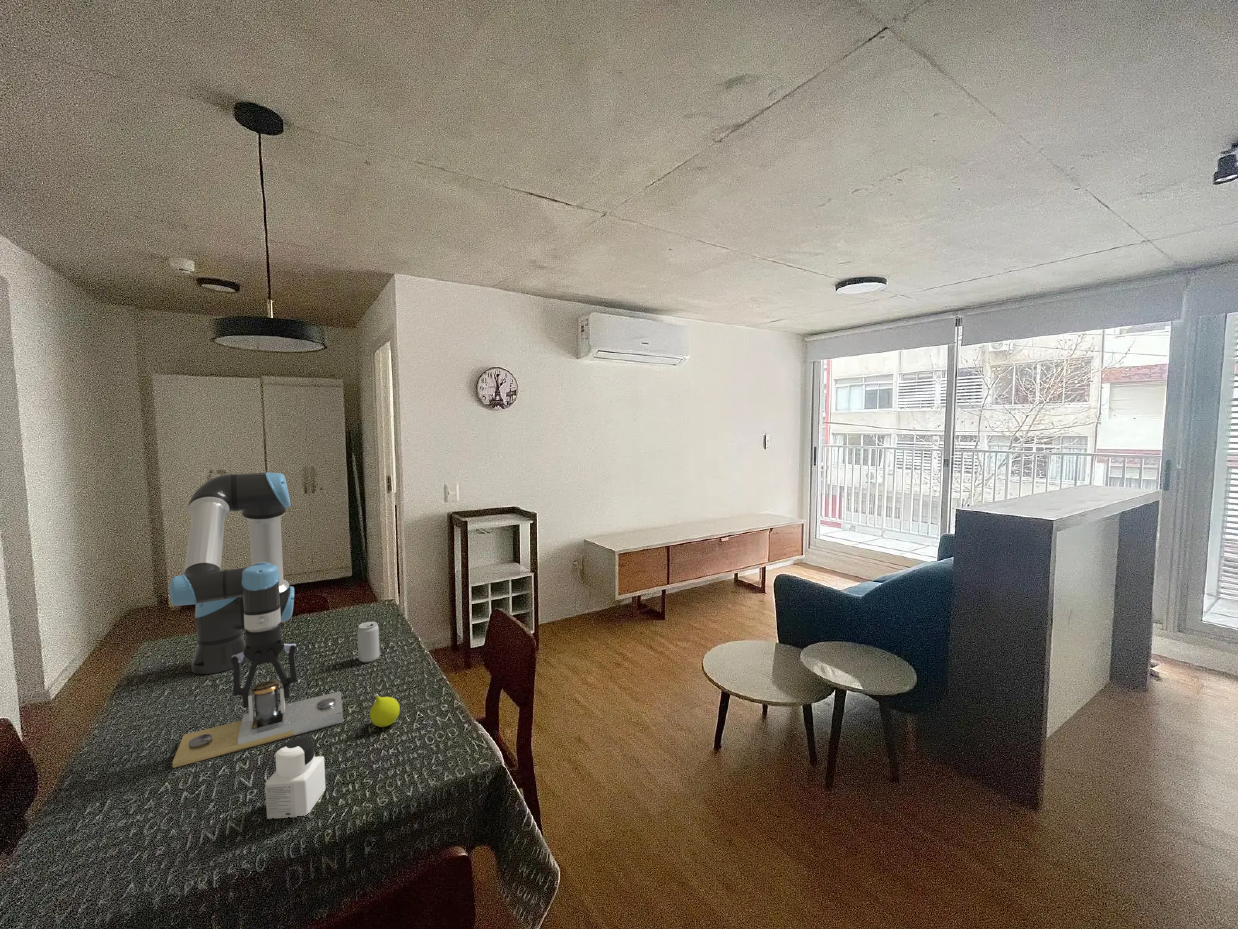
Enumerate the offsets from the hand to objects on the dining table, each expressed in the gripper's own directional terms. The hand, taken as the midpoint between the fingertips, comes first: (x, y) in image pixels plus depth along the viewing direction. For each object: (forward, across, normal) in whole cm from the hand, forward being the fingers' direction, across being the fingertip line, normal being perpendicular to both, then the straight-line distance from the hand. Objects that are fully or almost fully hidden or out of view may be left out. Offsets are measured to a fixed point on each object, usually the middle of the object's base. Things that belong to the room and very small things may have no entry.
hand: (267, 714), depth 128 cm
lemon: (+5, +26, -13) cm, 29 cm away
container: (+5, +7, -34) cm, 35 cm away
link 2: (+4, +6, 0) cm, 7 cm away
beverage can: (+5, +26, +31) cm, 41 cm away
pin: (+4, 0, 0) cm, 4 cm away
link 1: (+4, -6, 0) cm, 7 cm away
